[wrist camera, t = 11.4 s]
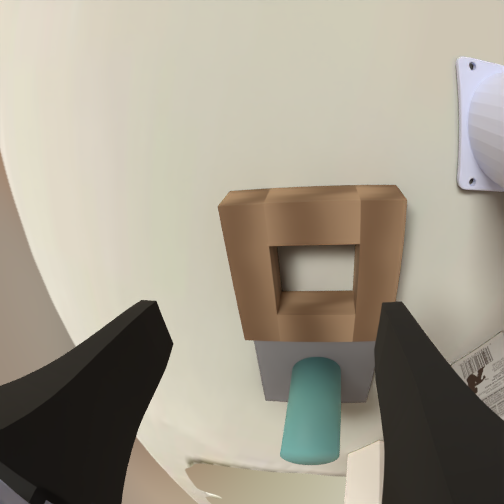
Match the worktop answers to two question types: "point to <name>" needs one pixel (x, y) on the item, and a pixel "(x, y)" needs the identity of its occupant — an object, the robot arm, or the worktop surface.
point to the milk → (365, 475)
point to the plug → (313, 413)
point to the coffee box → (485, 373)
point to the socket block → (313, 233)
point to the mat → (289, 353)
